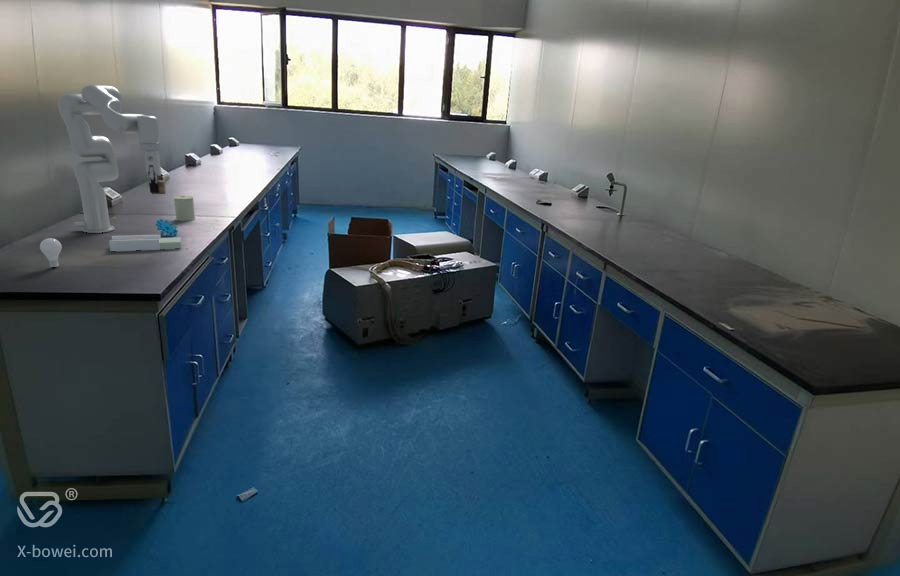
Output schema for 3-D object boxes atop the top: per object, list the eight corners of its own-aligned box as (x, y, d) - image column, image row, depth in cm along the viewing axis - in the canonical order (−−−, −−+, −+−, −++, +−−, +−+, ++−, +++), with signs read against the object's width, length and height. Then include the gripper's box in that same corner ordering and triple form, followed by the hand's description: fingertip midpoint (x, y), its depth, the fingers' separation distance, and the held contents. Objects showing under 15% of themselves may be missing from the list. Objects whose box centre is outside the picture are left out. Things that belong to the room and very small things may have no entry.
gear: (165, 235, 242) (153, 218, 243) (158, 243, 244) (146, 226, 245) (184, 234, 252) (172, 217, 253) (177, 242, 255) (166, 225, 255)
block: (151, 194, 224) (150, 181, 222) (152, 192, 228) (151, 180, 227) (165, 194, 226) (163, 182, 224) (165, 192, 230) (164, 180, 229)
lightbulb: (49, 271, 193) (43, 241, 189) (40, 267, 196) (35, 238, 192) (68, 267, 198) (63, 238, 194) (60, 264, 201) (55, 235, 197)
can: (194, 217, 289) (192, 194, 285) (196, 220, 281) (194, 197, 277) (175, 217, 284) (172, 195, 280) (176, 221, 277) (174, 198, 273)
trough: (110, 251, 220) (108, 241, 218) (113, 246, 227) (112, 236, 226) (181, 248, 230) (180, 238, 228) (181, 243, 237) (180, 233, 236)
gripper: (158, 149, 215) (163, 194, 221) (161, 145, 229) (166, 188, 235) (137, 148, 212) (143, 195, 218) (141, 145, 226) (147, 188, 232)
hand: (155, 191), depth 226 cm, fingers closed on block, 4 cm apart
